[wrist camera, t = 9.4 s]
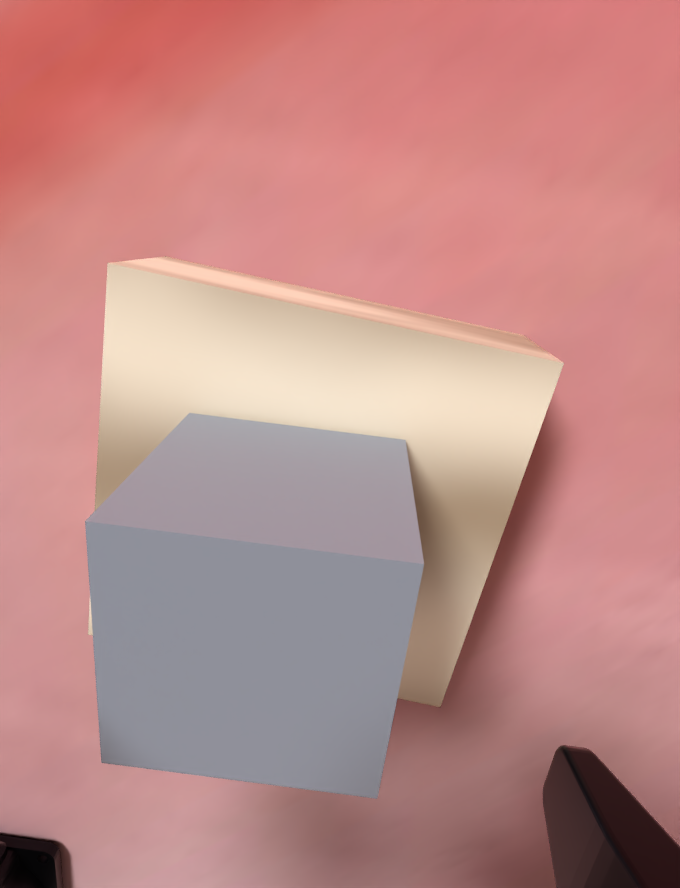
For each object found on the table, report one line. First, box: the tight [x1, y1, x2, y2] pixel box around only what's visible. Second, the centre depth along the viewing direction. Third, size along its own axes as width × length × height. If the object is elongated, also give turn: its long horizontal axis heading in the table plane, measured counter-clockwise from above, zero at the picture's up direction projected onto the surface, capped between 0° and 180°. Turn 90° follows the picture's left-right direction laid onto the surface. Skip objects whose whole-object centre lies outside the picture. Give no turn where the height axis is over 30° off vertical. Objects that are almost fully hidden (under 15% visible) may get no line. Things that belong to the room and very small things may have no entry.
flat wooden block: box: [88, 256, 564, 707], centre depth 16 cm, size 10×10×4 cm
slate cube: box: [85, 413, 424, 799], centre depth 11 cm, size 5×5×5 cm
